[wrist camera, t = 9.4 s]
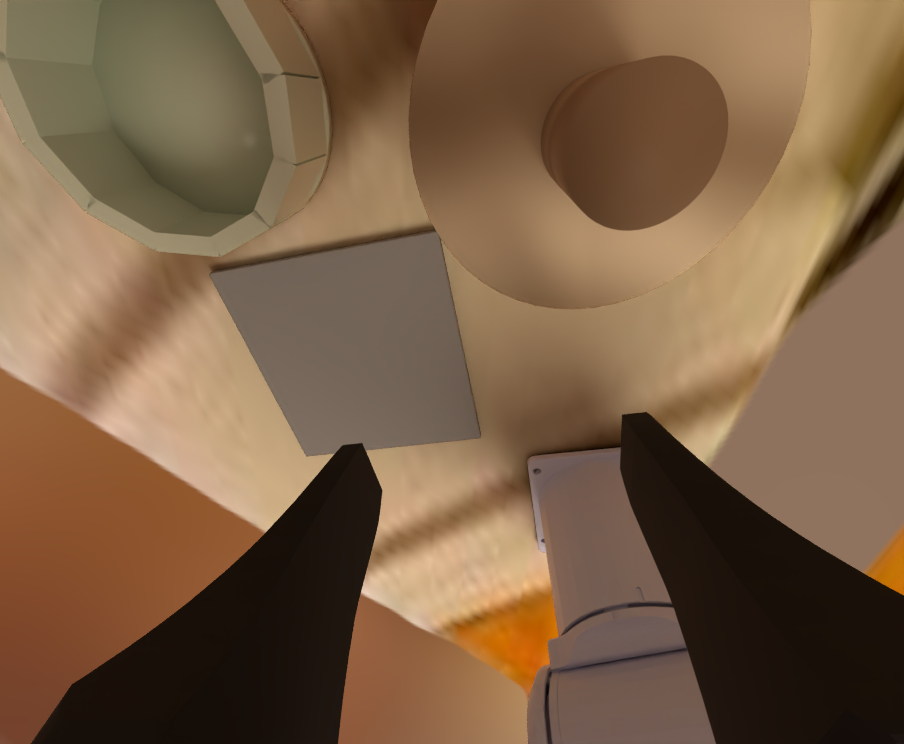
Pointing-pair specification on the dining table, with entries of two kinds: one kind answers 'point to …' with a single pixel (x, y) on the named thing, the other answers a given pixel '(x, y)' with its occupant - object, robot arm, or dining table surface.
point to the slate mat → (358, 343)
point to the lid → (600, 135)
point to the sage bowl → (170, 113)
